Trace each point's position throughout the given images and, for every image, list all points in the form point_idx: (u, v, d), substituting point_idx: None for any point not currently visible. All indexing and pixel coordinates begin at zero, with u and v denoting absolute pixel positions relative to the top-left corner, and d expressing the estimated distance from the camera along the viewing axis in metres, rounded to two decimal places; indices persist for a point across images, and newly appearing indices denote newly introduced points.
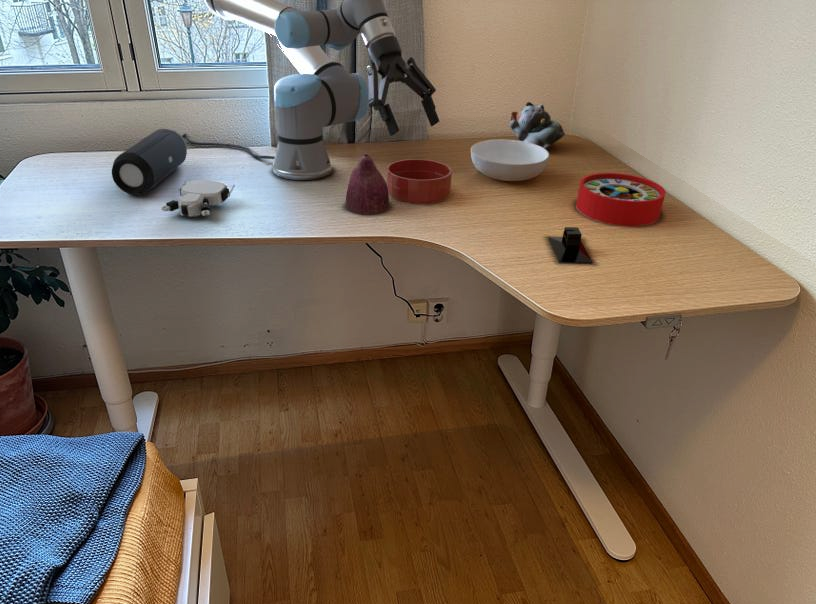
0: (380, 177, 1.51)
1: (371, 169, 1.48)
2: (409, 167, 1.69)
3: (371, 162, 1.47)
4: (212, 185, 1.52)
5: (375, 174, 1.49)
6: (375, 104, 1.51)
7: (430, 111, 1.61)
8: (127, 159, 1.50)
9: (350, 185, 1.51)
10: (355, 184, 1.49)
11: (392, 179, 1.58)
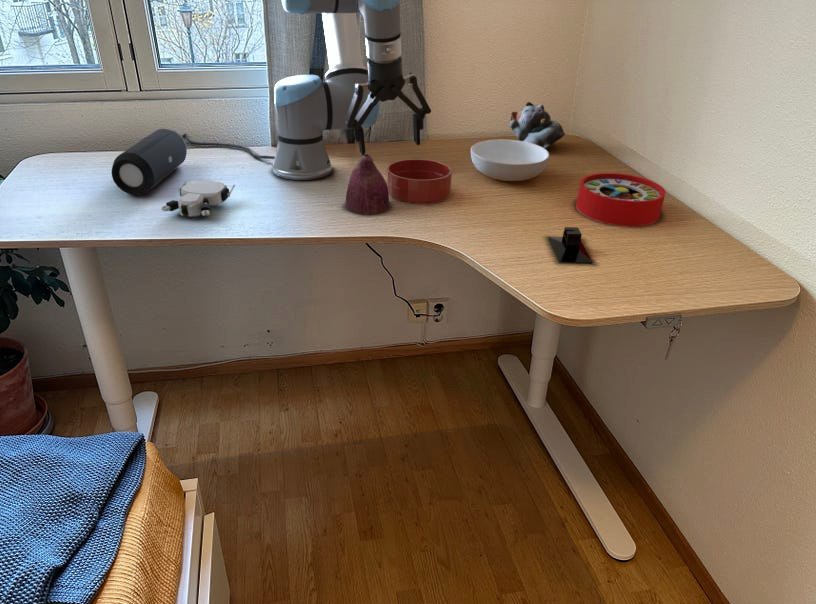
0: (380, 177, 1.51)
1: (371, 169, 1.48)
2: (409, 167, 1.69)
3: (371, 162, 1.47)
4: (212, 185, 1.52)
5: (375, 174, 1.49)
6: None
7: (415, 131, 1.56)
8: (127, 159, 1.50)
9: (350, 185, 1.51)
10: (355, 184, 1.49)
11: (392, 179, 1.58)
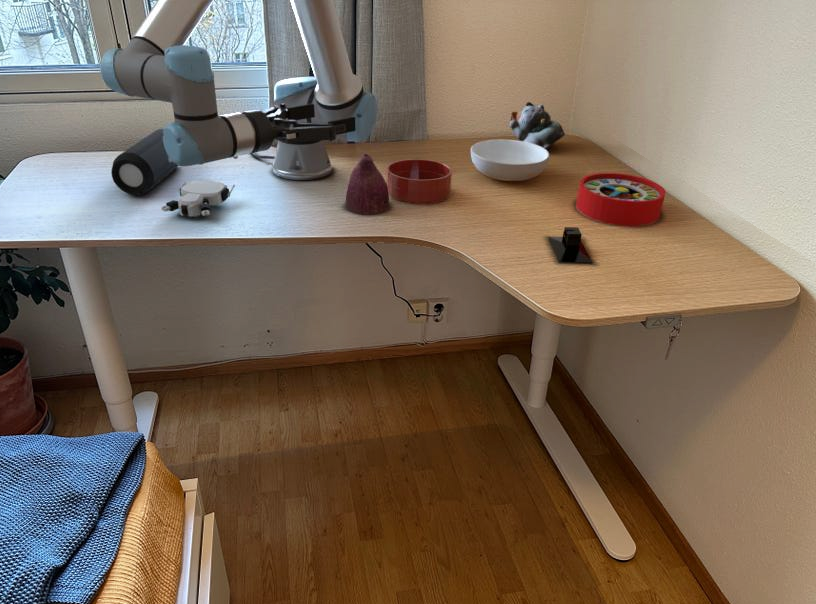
0: (380, 177, 1.51)
1: (371, 169, 1.48)
2: (409, 167, 1.69)
3: (371, 162, 1.47)
4: (212, 185, 1.52)
5: (375, 174, 1.49)
6: None
7: None
8: (127, 159, 1.50)
9: (350, 185, 1.51)
10: (355, 184, 1.49)
11: (392, 179, 1.58)
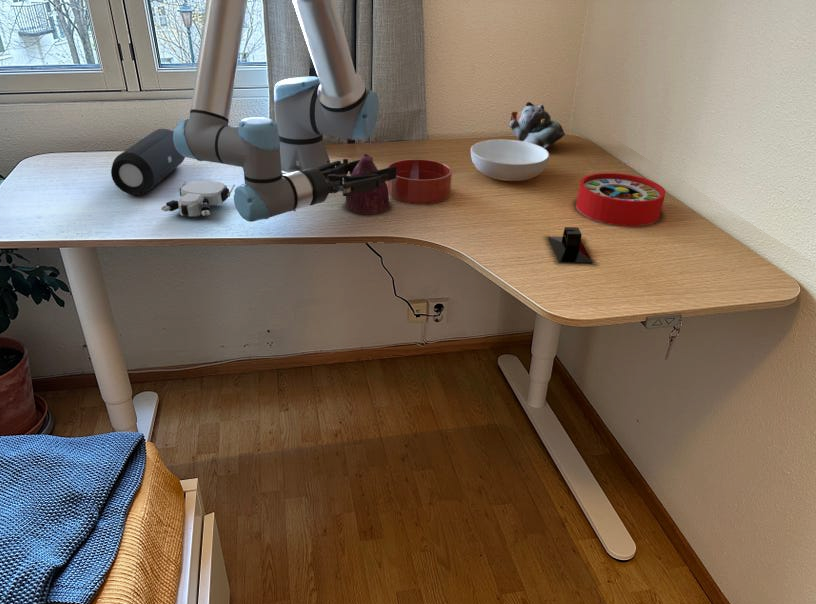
0: None
1: (371, 169, 1.48)
2: (409, 167, 1.69)
3: (371, 162, 1.48)
4: (212, 185, 1.52)
5: None
6: None
7: None
8: (127, 159, 1.50)
9: None
10: None
11: (392, 179, 1.58)
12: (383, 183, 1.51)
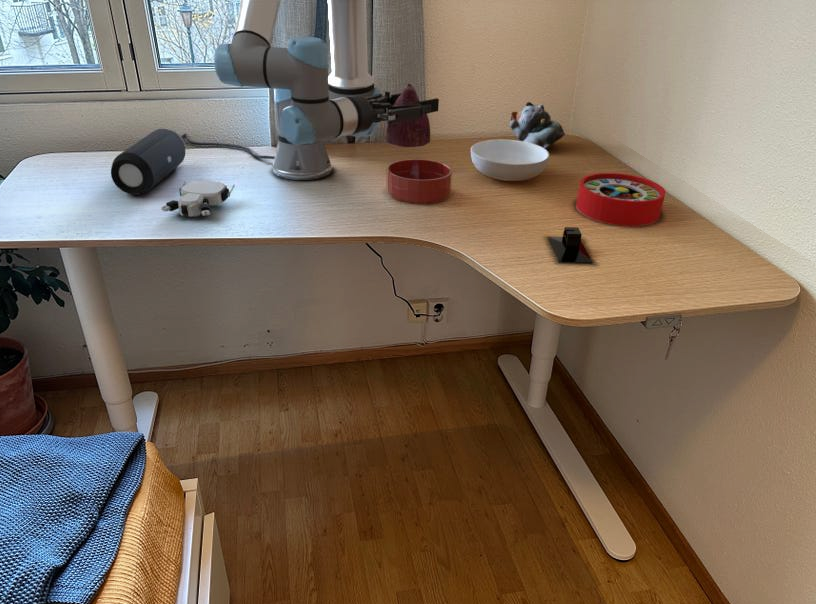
0: None
1: (414, 100, 1.47)
2: (409, 167, 1.69)
3: (414, 92, 1.46)
4: (212, 185, 1.52)
5: None
6: None
7: None
8: (127, 159, 1.50)
9: None
10: None
11: (392, 179, 1.58)
12: (425, 115, 1.50)
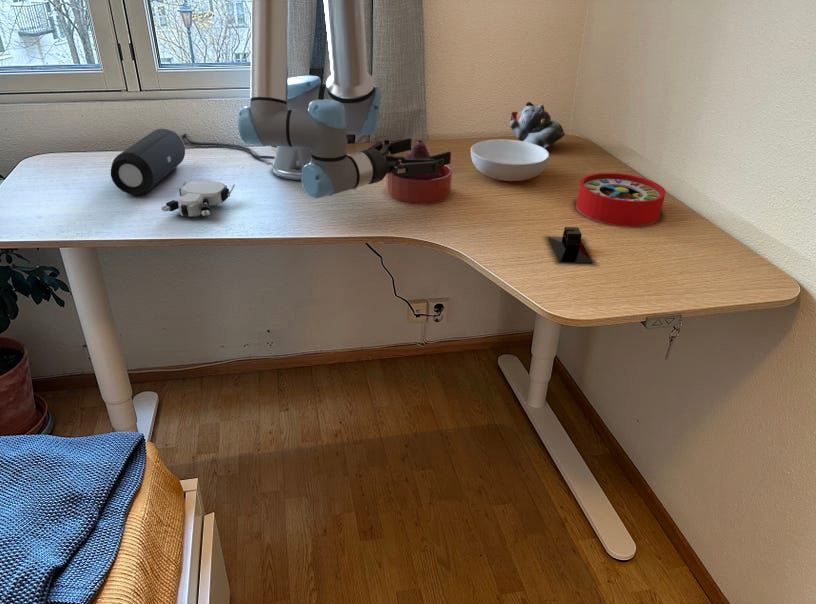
0: None
1: (424, 155, 1.57)
2: None
3: (424, 148, 1.56)
4: (212, 185, 1.52)
5: None
6: None
7: None
8: (127, 159, 1.50)
9: None
10: None
11: (392, 179, 1.58)
12: None
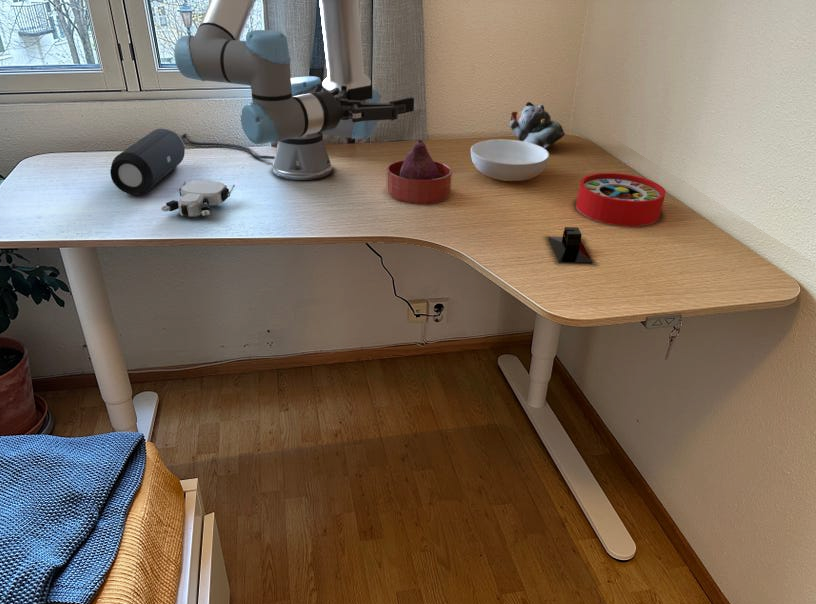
0: (432, 162, 1.59)
1: (424, 155, 1.57)
2: None
3: (424, 148, 1.56)
4: (212, 185, 1.52)
5: (428, 159, 1.58)
6: None
7: None
8: (126, 159, 1.50)
9: (403, 170, 1.59)
10: (409, 168, 1.58)
11: (392, 179, 1.58)
12: (434, 168, 1.60)
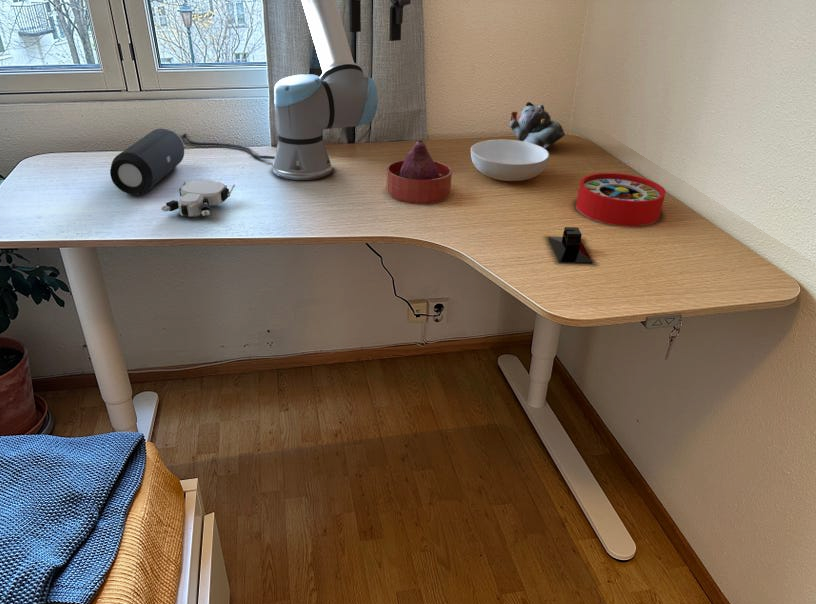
0: (432, 162, 1.59)
1: (424, 155, 1.57)
2: None
3: (424, 148, 1.56)
4: (212, 185, 1.52)
5: (428, 159, 1.58)
6: None
7: None
8: (126, 159, 1.50)
9: (403, 170, 1.59)
10: (409, 168, 1.58)
11: (392, 179, 1.58)
12: (434, 168, 1.60)
